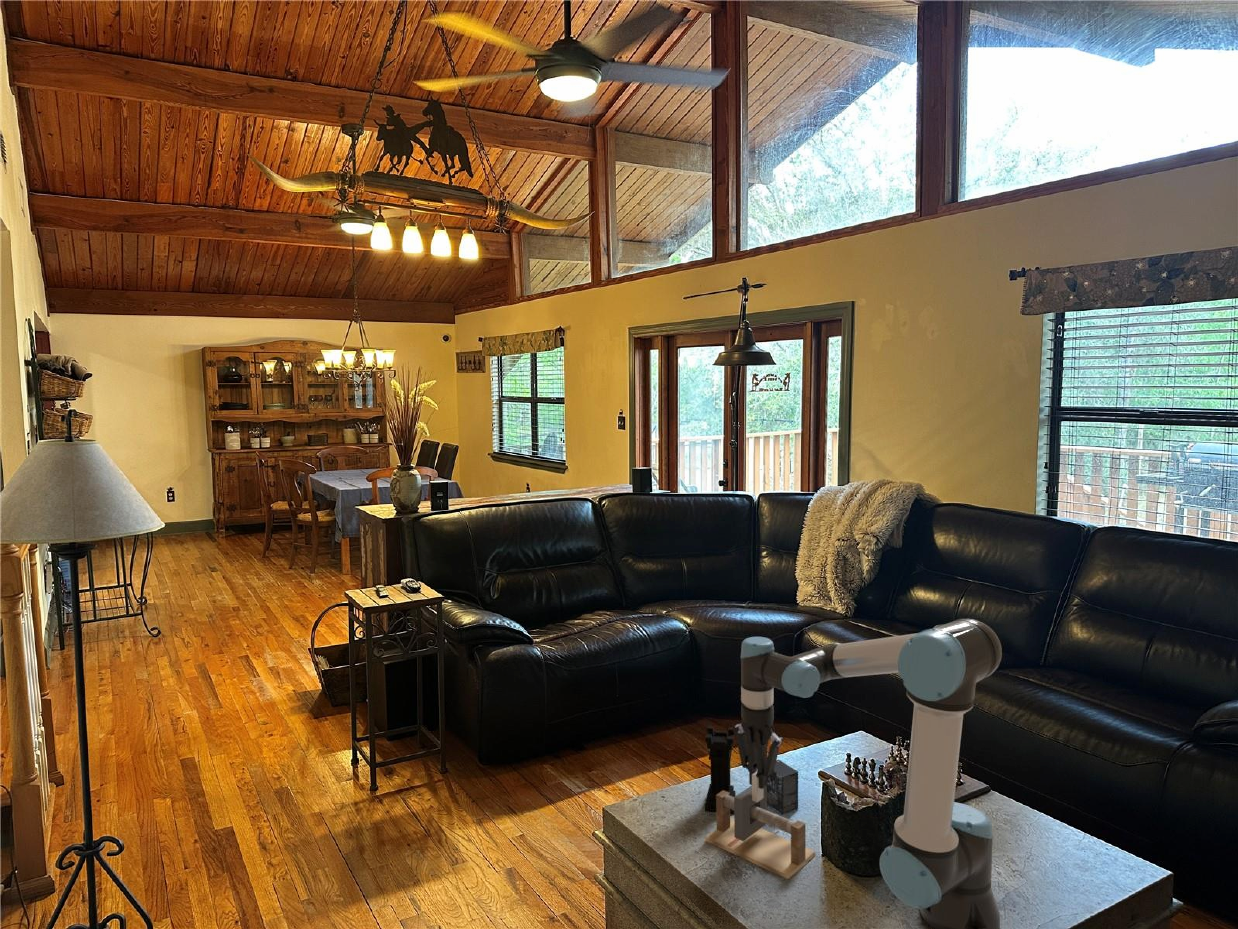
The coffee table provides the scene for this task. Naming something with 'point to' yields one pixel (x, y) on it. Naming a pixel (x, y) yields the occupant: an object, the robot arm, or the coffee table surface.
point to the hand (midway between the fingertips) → (757, 799)
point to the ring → (747, 814)
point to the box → (782, 788)
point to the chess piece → (719, 765)
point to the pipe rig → (762, 839)
